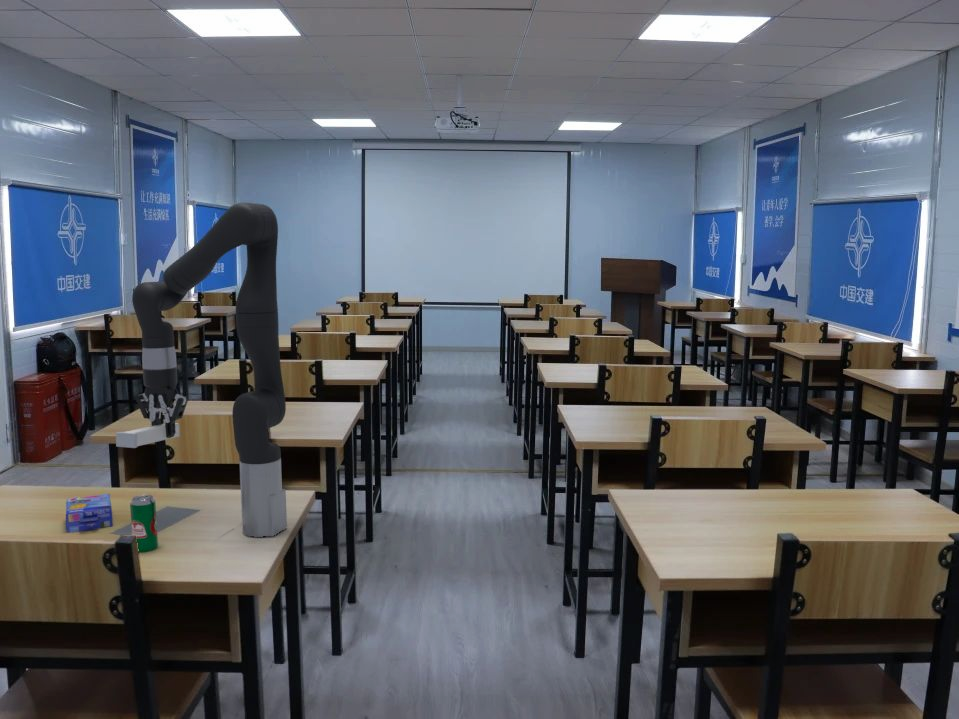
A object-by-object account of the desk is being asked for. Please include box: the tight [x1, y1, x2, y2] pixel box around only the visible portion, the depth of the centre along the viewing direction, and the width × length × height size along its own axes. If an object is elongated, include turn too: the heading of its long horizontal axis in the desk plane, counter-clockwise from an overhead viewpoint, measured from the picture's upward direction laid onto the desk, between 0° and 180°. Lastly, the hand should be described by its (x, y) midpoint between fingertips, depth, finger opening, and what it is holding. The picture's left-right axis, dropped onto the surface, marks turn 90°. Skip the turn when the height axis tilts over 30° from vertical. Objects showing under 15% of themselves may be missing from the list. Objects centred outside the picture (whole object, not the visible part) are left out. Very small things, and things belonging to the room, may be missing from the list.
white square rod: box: [115, 422, 180, 449], centre depth 187 cm, size 5×17×3 cm, turn 163°
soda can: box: [129, 494, 159, 553], centre depth 173 cm, size 5×5×12 cm
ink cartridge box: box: [65, 493, 114, 534], centre depth 189 cm, size 10×6×14 cm
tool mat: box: [109, 505, 201, 536], centre depth 190 cm, size 10×20×1 cm, turn 163°
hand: (163, 436), depth 191 cm, fingers closed on white square rod, 3 cm apart
